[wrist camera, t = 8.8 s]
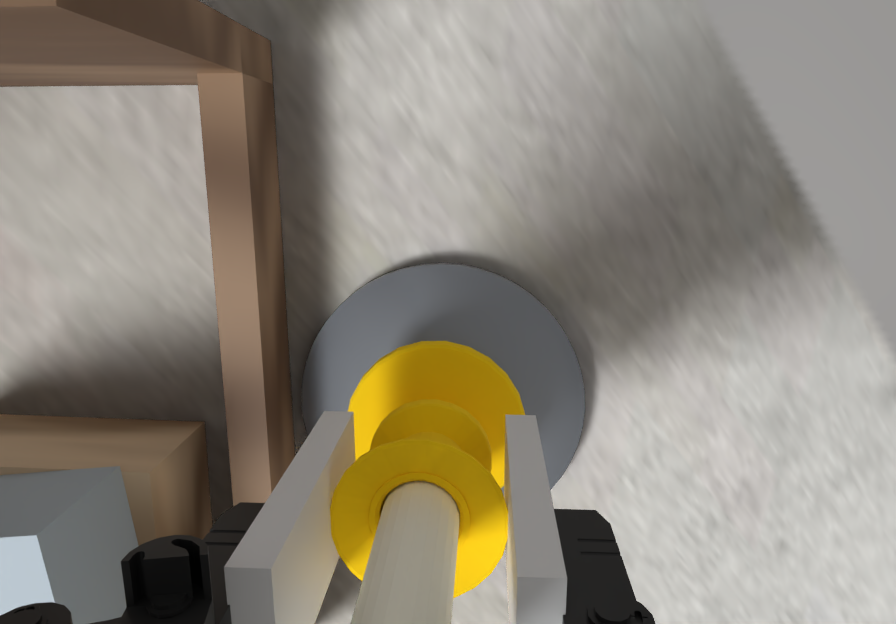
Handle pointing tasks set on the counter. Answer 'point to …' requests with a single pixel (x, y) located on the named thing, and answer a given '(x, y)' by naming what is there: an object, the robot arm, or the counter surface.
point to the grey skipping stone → (459, 321)
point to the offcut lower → (122, 464)
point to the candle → (424, 481)
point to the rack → (227, 179)
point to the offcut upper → (65, 541)
